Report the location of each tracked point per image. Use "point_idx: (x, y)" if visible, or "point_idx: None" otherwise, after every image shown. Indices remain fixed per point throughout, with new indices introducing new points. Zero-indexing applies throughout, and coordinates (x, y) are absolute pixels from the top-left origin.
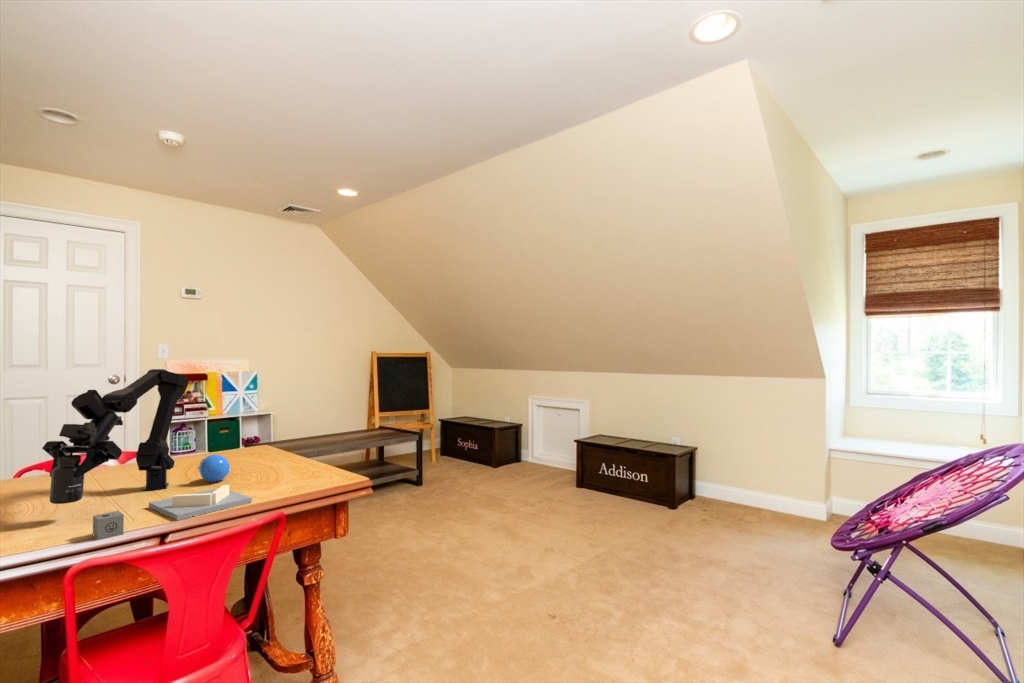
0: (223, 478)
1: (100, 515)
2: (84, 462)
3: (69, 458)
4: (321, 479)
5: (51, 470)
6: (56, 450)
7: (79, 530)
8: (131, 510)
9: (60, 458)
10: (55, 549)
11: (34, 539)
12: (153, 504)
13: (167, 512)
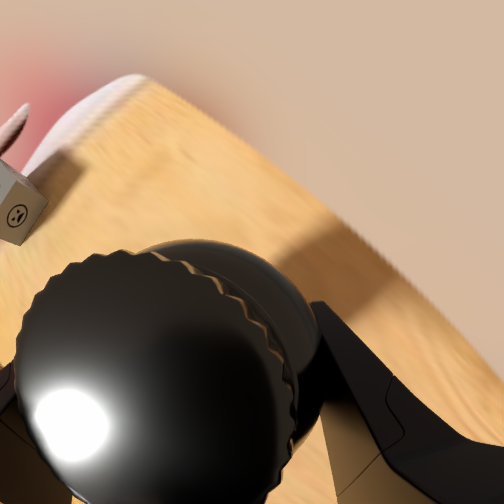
0: None
1: (2, 186)
2: (10, 374)
3: (42, 294)
4: None
5: (343, 327)
6: (493, 490)
7: (104, 236)
8: None
9: (147, 256)
10: (76, 118)
11: (175, 157)
12: None
13: None
